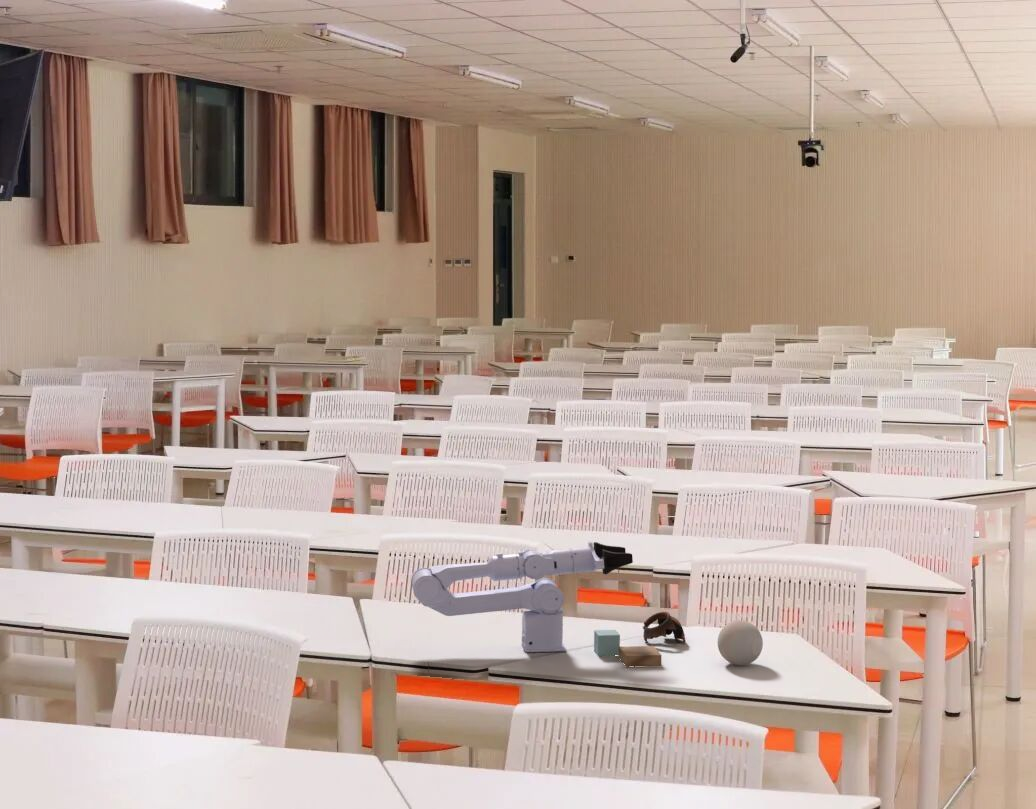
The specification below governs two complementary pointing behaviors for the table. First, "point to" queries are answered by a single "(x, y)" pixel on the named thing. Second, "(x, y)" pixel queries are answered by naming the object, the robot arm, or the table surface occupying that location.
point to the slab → (640, 656)
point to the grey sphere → (740, 642)
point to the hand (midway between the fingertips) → (628, 555)
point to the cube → (606, 642)
